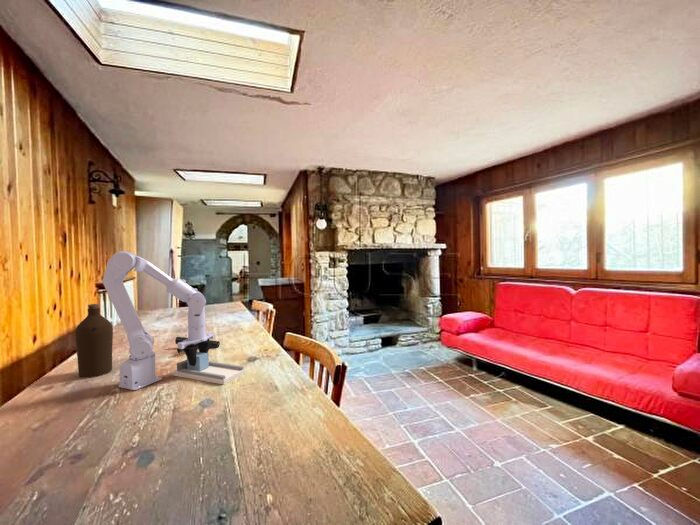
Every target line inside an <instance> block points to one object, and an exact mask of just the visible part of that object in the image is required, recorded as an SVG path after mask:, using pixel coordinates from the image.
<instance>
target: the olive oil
mask: <svg viewBox="0 0 700 525" xmlns="http://www.w3.org/2000/svg"><path fill="white" fill-rule="evenodd" d="M87 307H88V308H87V316H85V318H84V319H83V320H81V322H80V323H79V324H78V325H77V326H76V328H75V331H74V338H75V348H76V356H77V367H78V368H77V370H78V371H77V373H78V377H79V378H82V377H89V378H95V376H96V377H100V376H104V375H107V374H109V373H110V372H112V371H113V340H114V339H113V338H114V337H113V336H114V329H113V328H114V327H113V324H112V323H111V321H110V320H108V319H107V318H105V317H104V316H103V315H102V314H101V307H100V303H90V304H88V305H87ZM103 374H104V375H103Z"/></svg>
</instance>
